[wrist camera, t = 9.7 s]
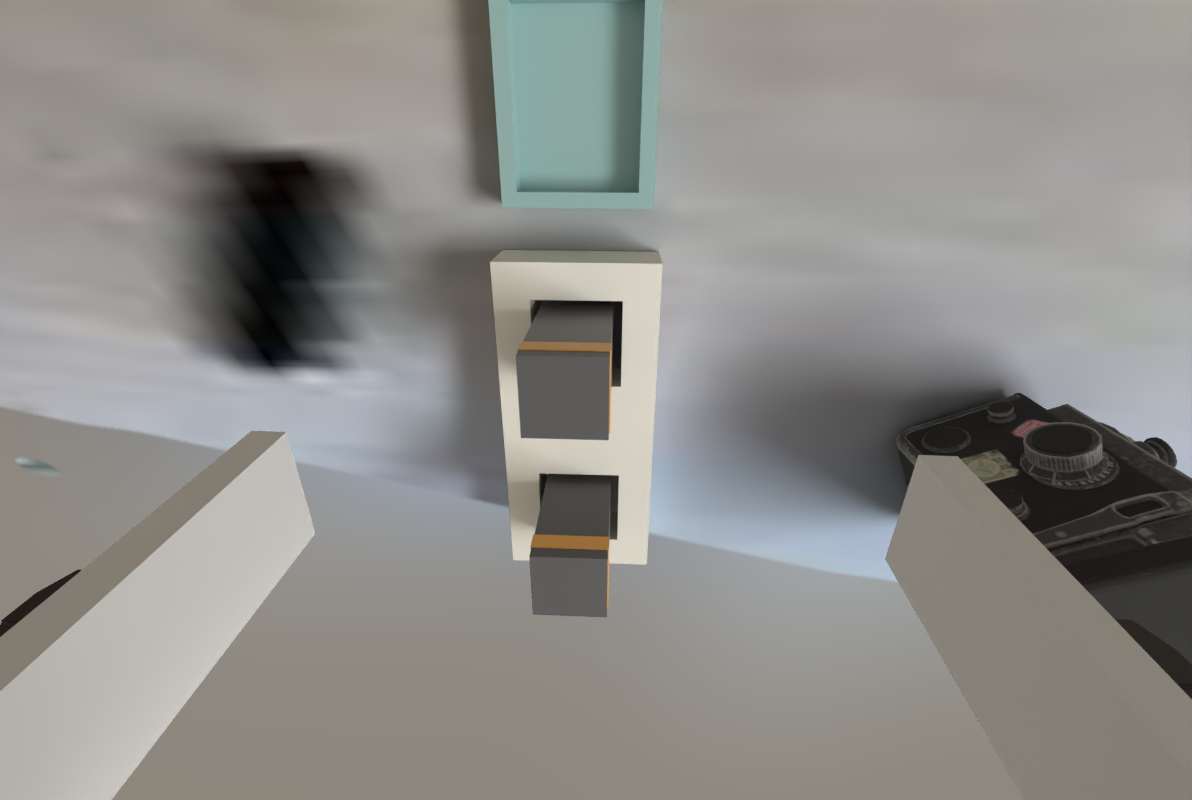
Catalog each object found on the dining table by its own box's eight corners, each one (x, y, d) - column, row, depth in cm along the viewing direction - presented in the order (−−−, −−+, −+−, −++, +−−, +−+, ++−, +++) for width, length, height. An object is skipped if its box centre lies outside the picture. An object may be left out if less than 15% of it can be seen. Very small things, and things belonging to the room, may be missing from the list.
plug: (544, 294, 33) (514, 354, 23) (614, 295, 32) (610, 356, 23) (547, 359, 34) (519, 439, 25) (613, 361, 34) (609, 441, 25)
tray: (494, -15, 27) (486, -25, 25) (661, -17, 26) (664, -27, 25) (508, 204, 31) (501, 208, 29) (652, 205, 31) (653, 209, 29)
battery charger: (502, 249, 32) (452, 296, 23) (658, 251, 32) (673, 299, 22) (521, 528, 41) (490, 645, 31) (644, 531, 40) (651, 651, 31)
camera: (1073, 487, 37) (1332, 688, 23) (910, 532, 39) (1061, 741, 26) (1061, 352, 33) (1363, 499, 20) (880, 410, 35) (1039, 580, 22)
